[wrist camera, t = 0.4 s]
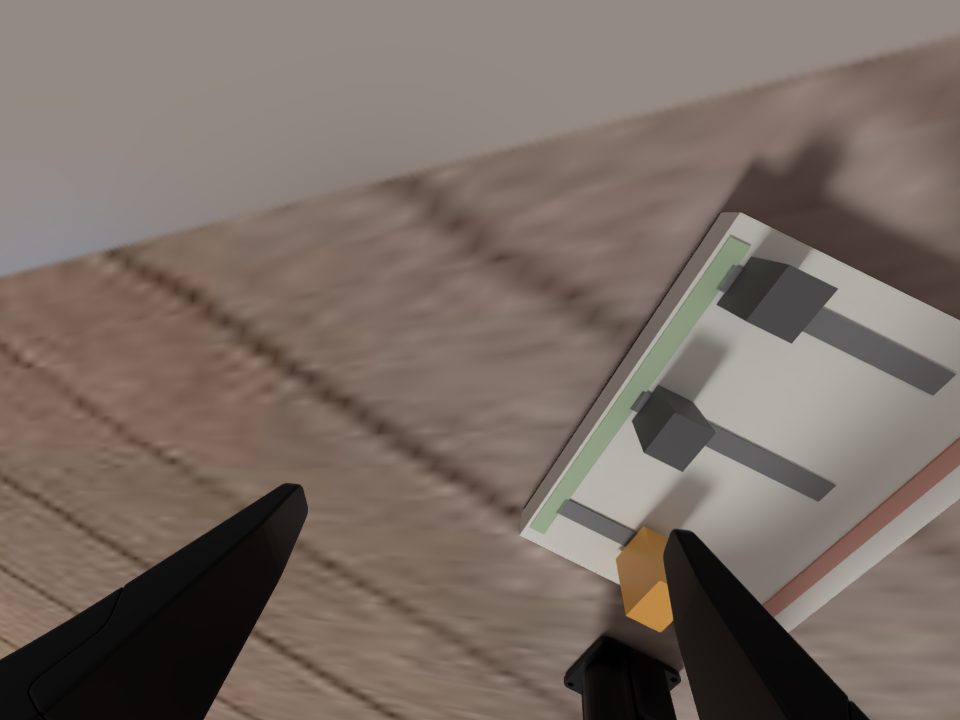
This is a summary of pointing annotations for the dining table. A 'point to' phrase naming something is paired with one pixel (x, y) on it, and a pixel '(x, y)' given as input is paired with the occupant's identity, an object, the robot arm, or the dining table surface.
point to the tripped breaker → (645, 580)
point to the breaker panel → (766, 424)
